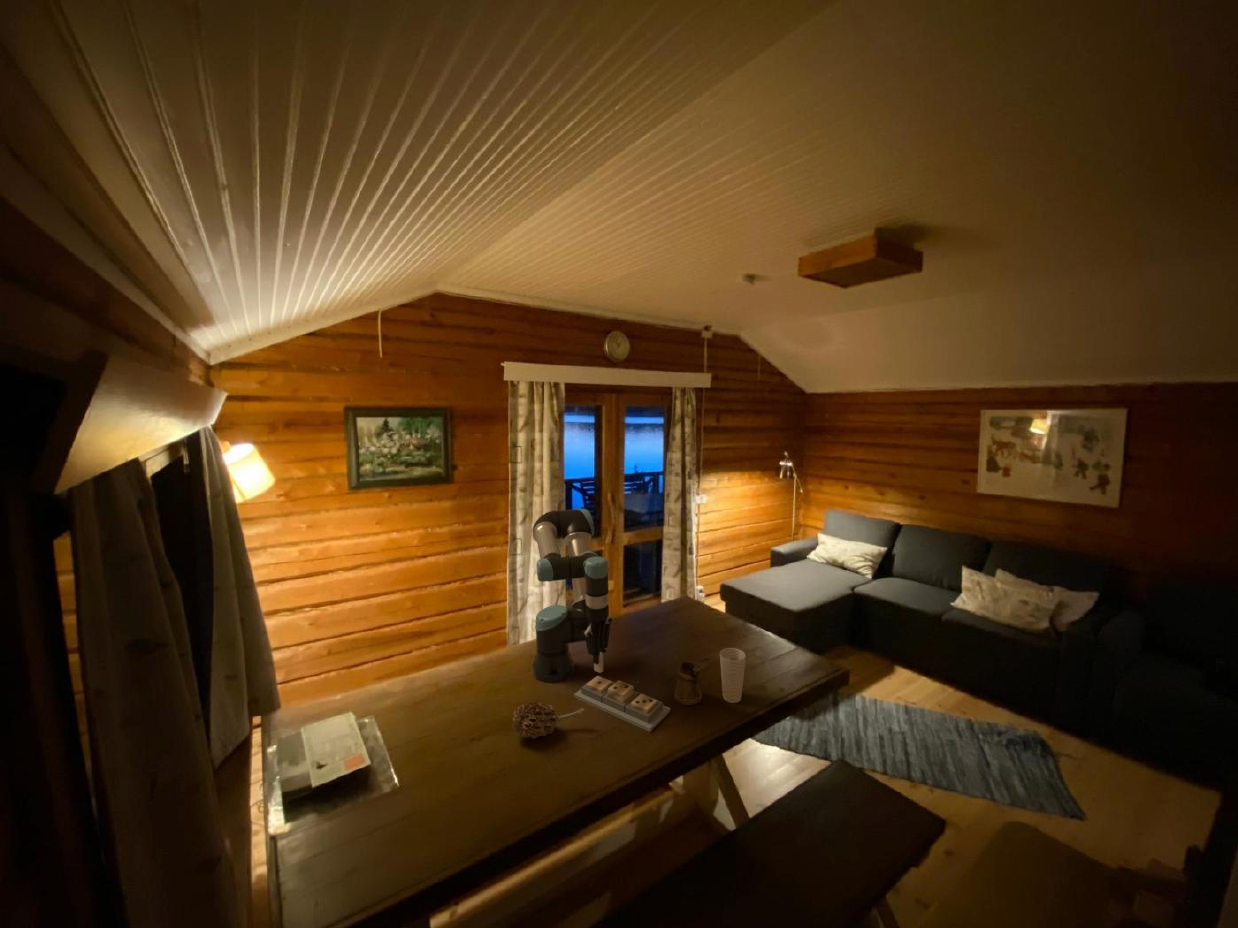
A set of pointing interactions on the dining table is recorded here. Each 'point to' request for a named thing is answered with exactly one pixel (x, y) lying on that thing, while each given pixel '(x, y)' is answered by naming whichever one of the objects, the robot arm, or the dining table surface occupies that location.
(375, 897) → the dining table surface
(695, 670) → the wooden mug
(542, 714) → the pine cone
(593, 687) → the tan square block
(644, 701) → the tile
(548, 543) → the robot arm
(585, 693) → the button board
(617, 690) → the tile
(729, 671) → the cup
